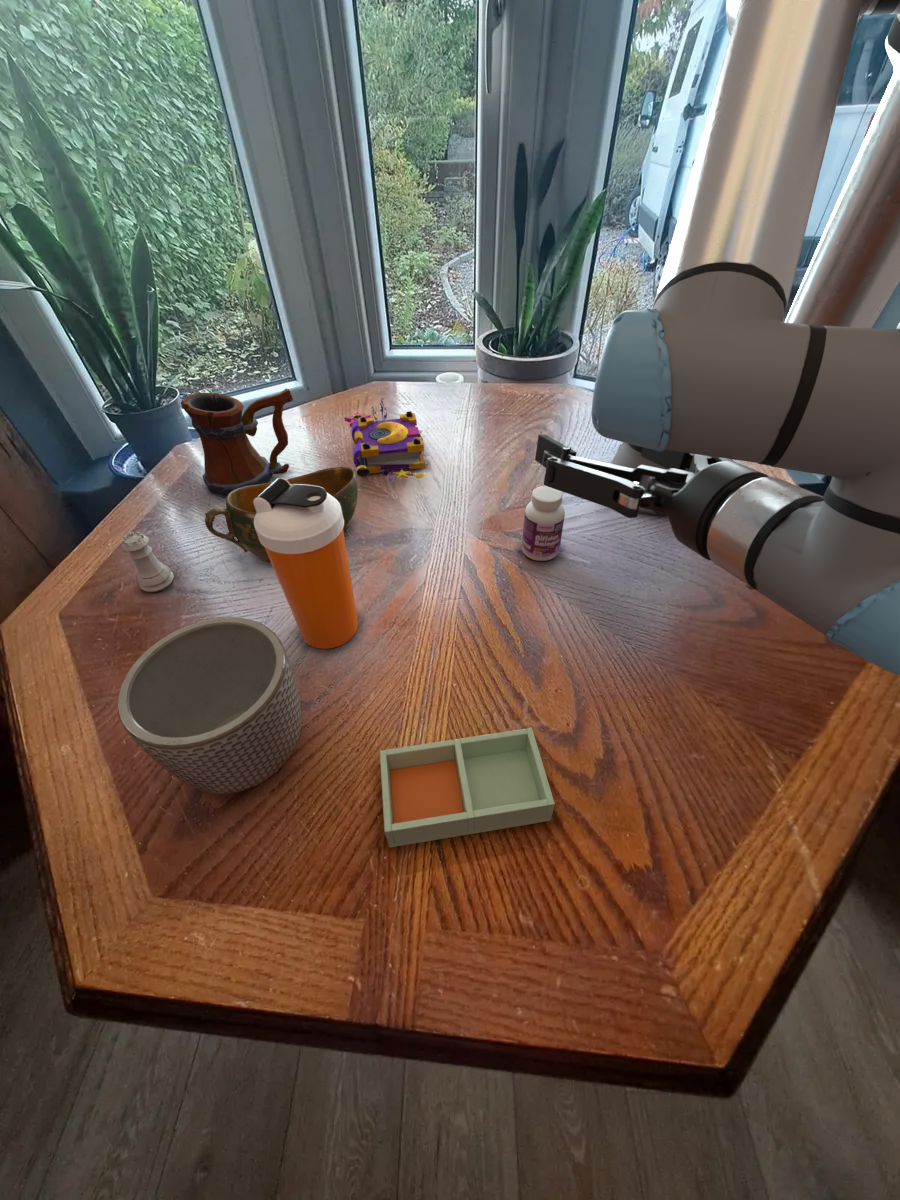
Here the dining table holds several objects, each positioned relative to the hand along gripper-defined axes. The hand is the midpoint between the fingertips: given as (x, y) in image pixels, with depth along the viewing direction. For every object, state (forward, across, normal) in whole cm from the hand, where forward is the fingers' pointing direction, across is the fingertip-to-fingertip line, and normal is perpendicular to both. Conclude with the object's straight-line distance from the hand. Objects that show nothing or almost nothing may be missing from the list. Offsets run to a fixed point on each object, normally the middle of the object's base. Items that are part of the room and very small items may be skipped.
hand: (594, 445), depth 57 cm
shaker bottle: (+6, -29, -24) cm, 38 cm away
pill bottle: (+10, +2, -18) cm, 21 cm away
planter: (-8, -40, -28) cm, 49 cm away
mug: (+46, -36, -18) cm, 61 cm away
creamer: (+25, -31, -21) cm, 45 cm away
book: (+46, -13, -14) cm, 49 cm away
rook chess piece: (+23, -51, -24) cm, 61 cm away
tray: (-20, -20, -27) cm, 39 cm away
